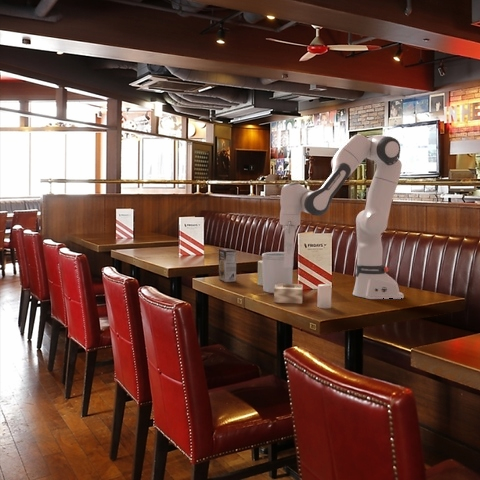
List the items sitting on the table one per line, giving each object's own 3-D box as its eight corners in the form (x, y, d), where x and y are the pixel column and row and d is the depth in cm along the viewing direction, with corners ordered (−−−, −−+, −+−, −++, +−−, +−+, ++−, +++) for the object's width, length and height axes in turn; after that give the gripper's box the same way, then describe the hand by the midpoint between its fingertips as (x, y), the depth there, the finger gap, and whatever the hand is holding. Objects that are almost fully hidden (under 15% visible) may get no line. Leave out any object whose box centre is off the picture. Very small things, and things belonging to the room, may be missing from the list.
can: (276, 286, 271) (276, 262, 269) (257, 285, 271) (257, 261, 270) (275, 282, 280) (275, 259, 279) (257, 282, 280) (257, 259, 279)
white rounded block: (330, 305, 229) (331, 284, 228) (331, 308, 224) (331, 286, 223) (317, 305, 230) (317, 283, 229) (317, 308, 224) (317, 286, 223)
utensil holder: (265, 294, 251) (266, 256, 249) (258, 287, 266) (258, 252, 264) (296, 293, 254) (297, 255, 252) (287, 287, 269) (288, 251, 267)
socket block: (302, 297, 245) (302, 284, 244) (302, 303, 233) (302, 289, 232) (275, 296, 246) (275, 283, 245) (273, 302, 234) (274, 288, 233)
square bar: (293, 266, 240) (294, 238, 238) (292, 267, 236) (293, 239, 234) (283, 265, 240) (284, 238, 239) (283, 267, 236) (284, 239, 235)
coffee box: (218, 279, 288) (218, 248, 287) (229, 278, 291) (229, 248, 289) (225, 282, 280) (225, 250, 278) (236, 281, 283) (236, 250, 281)
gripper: (297, 222, 225) (296, 256, 226) (297, 219, 245) (296, 250, 247) (281, 222, 226) (280, 255, 227) (283, 219, 246) (282, 249, 247)
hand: (289, 252), depth 237 cm, fingers closed on square bar, 4 cm apart
